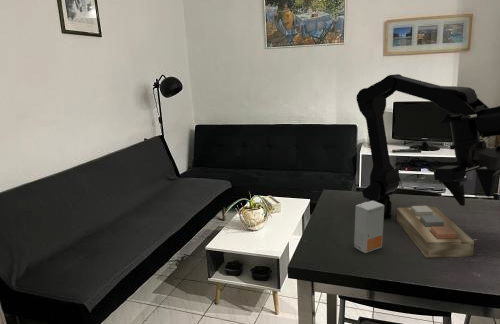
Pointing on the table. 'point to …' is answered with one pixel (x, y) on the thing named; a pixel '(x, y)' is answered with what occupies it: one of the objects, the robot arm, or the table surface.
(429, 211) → the offwhite key
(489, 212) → the table surface
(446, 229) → the terracotta key
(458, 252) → the wooden slotted tray
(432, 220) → the grey key
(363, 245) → the skincare box
